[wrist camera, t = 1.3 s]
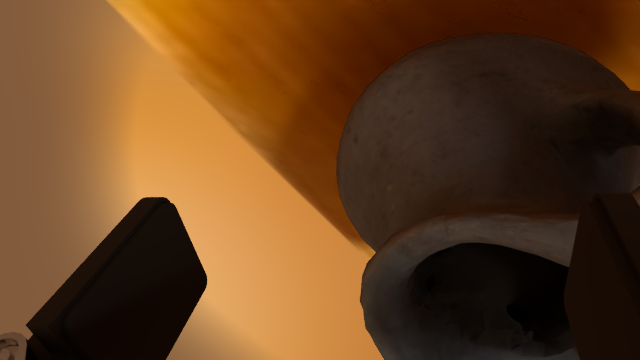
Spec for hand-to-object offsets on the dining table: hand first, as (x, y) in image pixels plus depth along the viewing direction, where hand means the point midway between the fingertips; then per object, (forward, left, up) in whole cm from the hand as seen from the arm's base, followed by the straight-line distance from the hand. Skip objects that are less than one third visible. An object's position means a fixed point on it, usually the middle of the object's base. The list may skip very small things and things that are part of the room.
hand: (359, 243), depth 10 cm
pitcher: (-1, +12, -30) cm, 32 cm away
